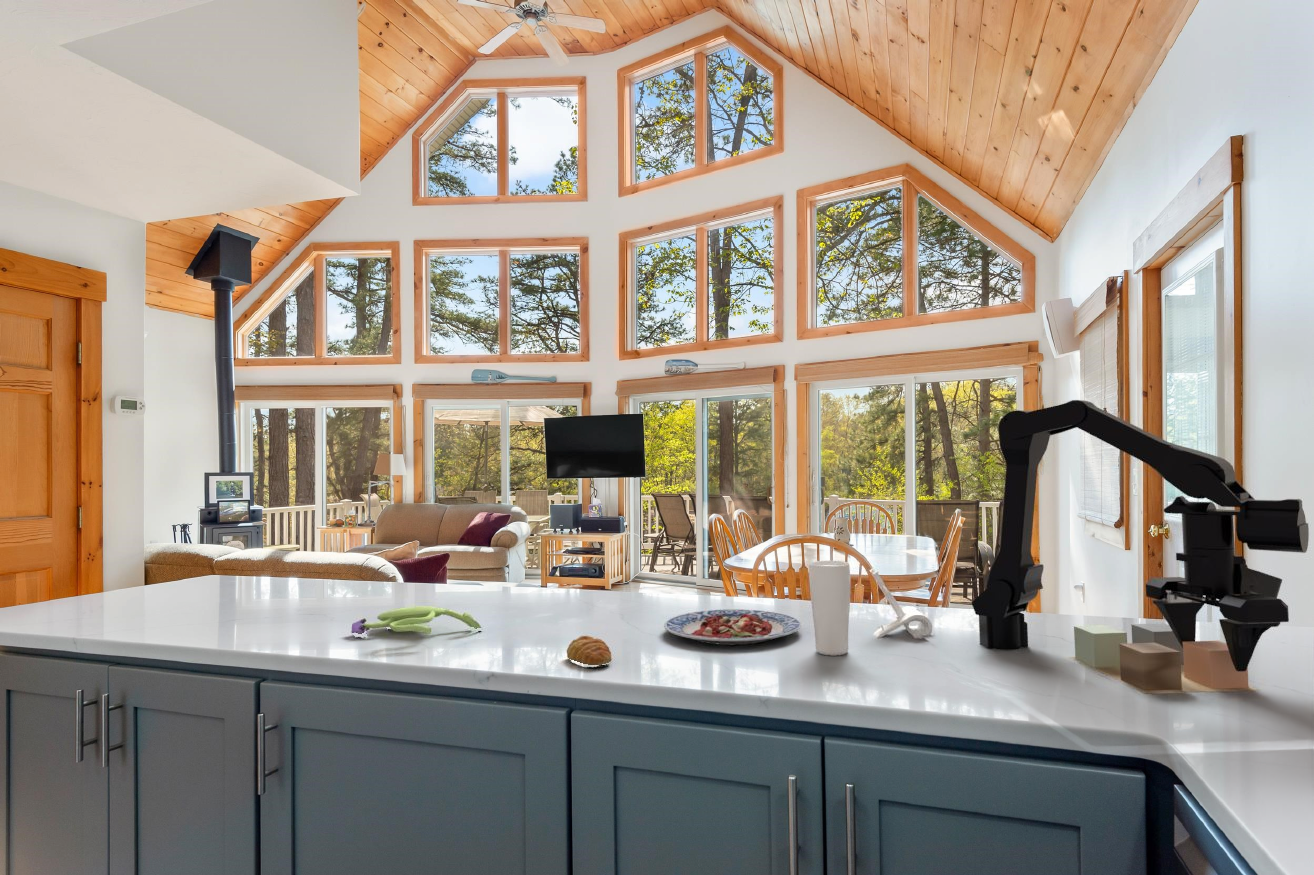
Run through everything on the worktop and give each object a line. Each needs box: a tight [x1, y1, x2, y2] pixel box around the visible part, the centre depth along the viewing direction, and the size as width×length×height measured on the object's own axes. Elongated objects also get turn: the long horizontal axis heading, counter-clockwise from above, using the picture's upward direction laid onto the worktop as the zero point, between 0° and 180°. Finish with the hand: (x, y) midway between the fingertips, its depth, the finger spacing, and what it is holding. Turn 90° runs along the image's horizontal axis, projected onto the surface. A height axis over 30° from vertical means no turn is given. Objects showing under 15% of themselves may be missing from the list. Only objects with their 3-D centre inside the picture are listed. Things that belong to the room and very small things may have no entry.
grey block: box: [1130, 622, 1184, 665], centre depth 113 cm, size 5×5×5 cm
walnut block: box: [1119, 642, 1182, 691], centre depth 102 cm, size 5×5×5 cm
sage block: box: [1073, 624, 1128, 668], centre depth 113 cm, size 5×5×5 cm
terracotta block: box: [1183, 640, 1250, 689], centre depth 102 cm, size 5×5×5 cm
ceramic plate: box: [663, 608, 802, 645], centre depth 141 cm, size 26×26×3 cm
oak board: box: [1068, 656, 1259, 695], centre depth 107 cm, size 15×18×1 cm
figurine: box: [351, 606, 482, 635], centre depth 147 cm, size 18×27×6 cm
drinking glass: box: [808, 560, 851, 657], centre depth 126 cm, size 7×7×15 cm
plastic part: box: [869, 567, 933, 639], centre depth 138 cm, size 8×10×12 cm
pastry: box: [566, 635, 612, 665], centre depth 123 cm, size 9×7×4 cm
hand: (1214, 661), depth 102 cm, fingers open, 9 cm apart
